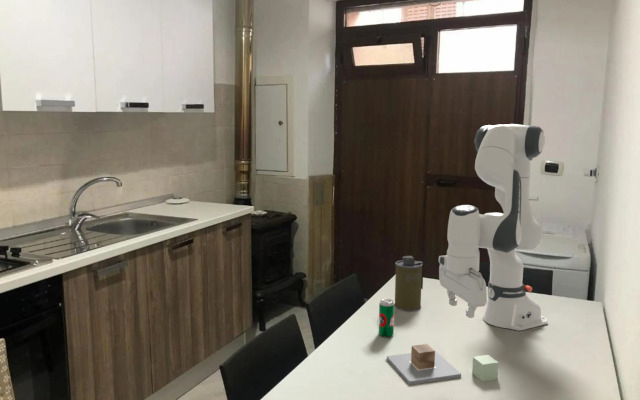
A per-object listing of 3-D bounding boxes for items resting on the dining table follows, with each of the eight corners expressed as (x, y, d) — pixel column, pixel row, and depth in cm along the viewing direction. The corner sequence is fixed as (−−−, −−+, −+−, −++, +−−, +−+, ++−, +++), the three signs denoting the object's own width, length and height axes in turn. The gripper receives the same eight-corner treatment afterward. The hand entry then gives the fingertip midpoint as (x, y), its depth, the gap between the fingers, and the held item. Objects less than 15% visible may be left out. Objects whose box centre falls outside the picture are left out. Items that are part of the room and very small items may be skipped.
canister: (400, 312, 197) (401, 261, 194) (390, 302, 207) (391, 254, 204) (426, 309, 199) (428, 259, 196) (415, 300, 209) (417, 252, 206)
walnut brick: (426, 359, 155) (426, 343, 155) (434, 367, 151) (435, 351, 150) (411, 361, 154) (411, 345, 153) (418, 369, 149) (419, 353, 149)
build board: (434, 353, 162) (434, 349, 162) (461, 377, 147) (461, 373, 147) (386, 359, 158) (386, 355, 158) (409, 384, 143) (409, 381, 143)
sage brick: (487, 370, 151) (488, 354, 150) (497, 379, 146) (498, 362, 146) (472, 373, 150) (472, 356, 149) (482, 381, 145) (482, 364, 144)
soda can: (393, 338, 173) (393, 304, 171) (377, 337, 174) (378, 302, 172) (394, 332, 178) (394, 298, 176) (379, 331, 179) (379, 297, 177)
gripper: (493, 273, 136) (491, 323, 138) (454, 253, 156) (453, 298, 158) (472, 275, 135) (470, 326, 137) (435, 255, 154) (434, 300, 156)
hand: (461, 310), depth 147 cm, fingers open, 8 cm apart
